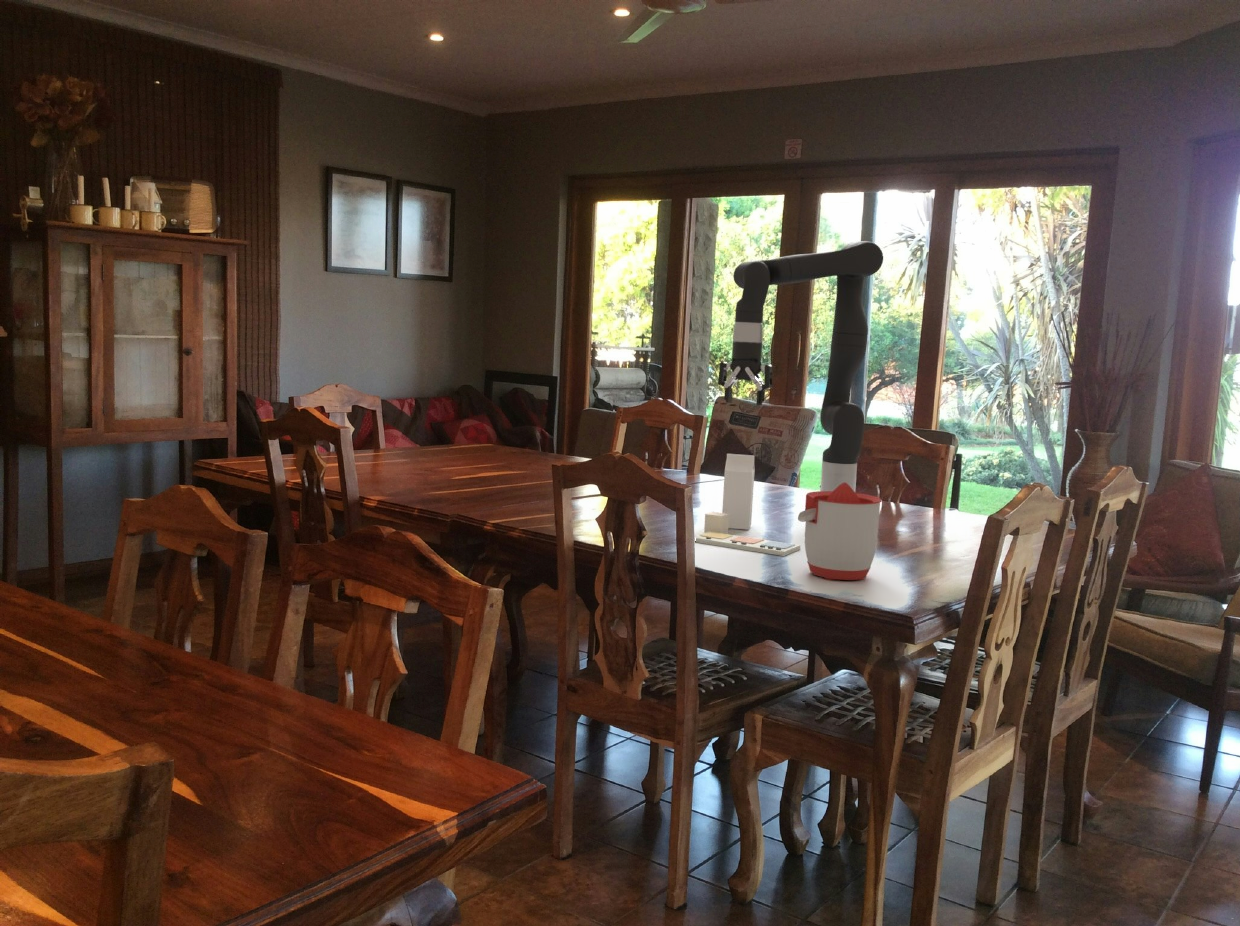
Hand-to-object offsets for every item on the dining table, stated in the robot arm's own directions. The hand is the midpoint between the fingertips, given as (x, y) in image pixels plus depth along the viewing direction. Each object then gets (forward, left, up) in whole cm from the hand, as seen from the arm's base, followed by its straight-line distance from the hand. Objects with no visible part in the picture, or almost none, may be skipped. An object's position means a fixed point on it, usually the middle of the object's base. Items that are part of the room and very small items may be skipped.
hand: (743, 404), depth 275 cm
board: (+21, +12, -32) cm, 40 cm away
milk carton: (0, 0, -32) cm, 32 cm away
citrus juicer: (+37, +40, -32) cm, 63 cm away
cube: (+12, 0, -32) cm, 34 cm away
